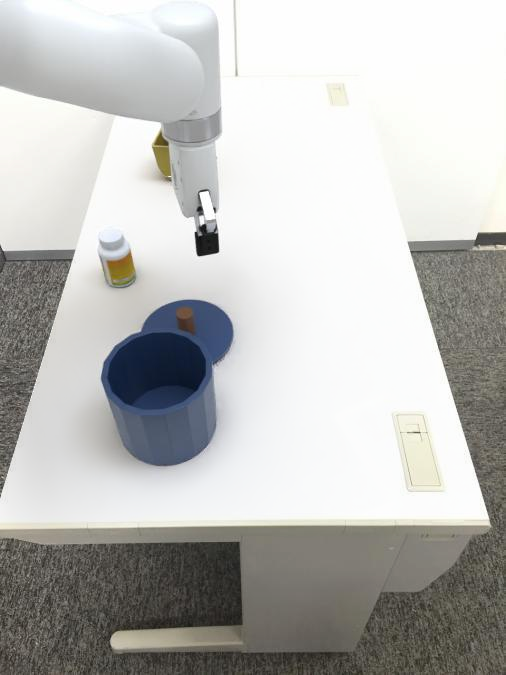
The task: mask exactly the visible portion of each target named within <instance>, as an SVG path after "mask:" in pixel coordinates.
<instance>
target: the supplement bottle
mask: <svg viewBox="0 0 506 675" xmlns="http://www.w3.org/2000/svg"><path fill="white" fill-rule="evenodd" d="M97 237H98V241H99V242H98V243H99V244H98V246H97V254H98V257H99V261H100V265H101V268H102V272H103V275H104V279H105V281H106V283H107V284H108V285H109V286H111V287H113V288H126V287H128V286H130V285H132V284H133V283H134V281H135V280H136V278H137V273H136V272H137V271H136V268H135V263H134V258H133V253H132V249H131V246H130V243H129V241H128V240H127V239H126V238H125V236H124V232H123V231H122V230H121V229H120V228H118V227H114V226H113V227H106V228H104V229H102V230H100V231H99V233H98V236H97Z"/></svg>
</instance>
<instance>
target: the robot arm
mask: <svg viewBox="0 0 506 675" xmlns="http://www.w3.org/2000/svg"><path fill="white" fill-rule="evenodd" d="M220 57H221V56H220V30H219V20H218V17H217V15H216V12H214V10H213V9H212V8H211V7H210V6H208V5H207V4H205V3H202V2H198V1H193V0H173V1H168V2H165V3H162V4H160V5H158V6H156V7H155V8H153V9H152V10H146V11H141V12H132V13H131V12H130V13H121V14H119V13H117V14H110V15H106V14H103V13H101V12H98V11H96V10H94V9H90V8H88V7H86V6H84V5H82V4H79V3H77V2H75V1H73V0H0V87H2V88H5V89H9V90H11V91H15V92H19V93H22V94H26V95H29V96H33V97H37V98H41V99H47V100H51V101H57V102H60V103H65V104H69V105H73V106H77V107H80V108H84V109H88V110H92V111H97V112H100V113H104V114H109V115H113V116H117V117H123V118H127V119H133V120H139V121H140V120H141V121H146V122H153V123H160V129H161V131H162V136H163V138H164V139H165V140H166V141H168V142H169V153H170V165H171V179H172V180H171V184H172V189H173V191H174V195H175V197H176V200H177V204H178V206H179V209H180V211H181V214H182V215H183V217H185V218H186V219H190V218H193V219H194V224H195V225H194V226H195V231H194V232H193V233H194V242H195V252H196V253H195V254H196V256H197V257H205V256H212V255H216V254H219V253H220V237H219V228H218V223H217V217H216V214H217V213H218V212H219V210H220V186H219V185H220V182H219V171H218V160H217V159H218V156H217V148H216V147H217V146H216V141H217V140H219V139H220V138H221V136H223V135H222V134H223V117H222V116H223V115H222V113H223V112H222V89H221V87H222V86H221V84H222V83H221V60H220V59H221V58H220ZM200 217H203V223H202V224H201V221H200Z"/></svg>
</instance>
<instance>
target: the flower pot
mask: <svg viewBox="0 0 506 675" xmlns="http://www.w3.org/2000/svg"><path fill="white" fill-rule="evenodd" d="M151 149H152V152H153V156H154V159H155V162H156V165H157V167H158V169H159V171H160V173H161V174H163V176H164V175H165V176H171V165H170V153H169V142H168V141H166V140H165V139H164V138H163V136H162V131H161V128H159V131H158V132H157V134H156V136H155V138H154V140H153V142H152V143H151ZM165 176H164V177H165ZM165 178H166V179H167V180H170V181H172V179H171V177H165Z"/></svg>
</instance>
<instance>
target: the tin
mask: <svg viewBox="0 0 506 675" xmlns="http://www.w3.org/2000/svg"><path fill="white" fill-rule="evenodd" d="M100 374H101V375H100V382H101V384H102V388H103V390H104V393H105V397H106V399H107V402H108V405H109V408H110V410H111V413H112V416H113V419H114V422H115V425H116V428H117V431H118V434H119V437H120V439H121V442H122V444H123V446H124V447H125V448H126V450H127V451H128V452H129V454H131V455H132V456H133V457H134V458H135V459H137V460H138V461H141V462H143V463H145V464H147V465H152V466H159V467H168V466H176V465H179V464H180V465H181V464H183V463H185V462H189V460H192V459H193V458H195V457H196V456H198V455H199V454H200V453H202V452H203V451H204V450H205V449H206V448H207V446H208V445H209V444H210V443H211V441H212V440H213V437H214V435H215V432H216V428H217V400H216V388H215V387H216V386H215V377H214V363H213V362H212V357H211V356H210V354H209V352H208V350H207V348H206V346H205V344H204V343H203V342H201V341H200V340H199V339H197V338H196V337H195V336H193V335H192V334H191V333H188V332H185V331H181V330H178V329H174V328H150V329H147V330H144V331H141V330H140V331H138V332H135V333H132V334H129V336H127V337H125V338H124V339H122V340H121V341H120V342H118V343H116V345H114V346H113V348H112V349H111V351H110V352H109V353H108V355H107V356H106V358H105V359H104V361H103V363H102V370H101V373H100Z"/></svg>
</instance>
